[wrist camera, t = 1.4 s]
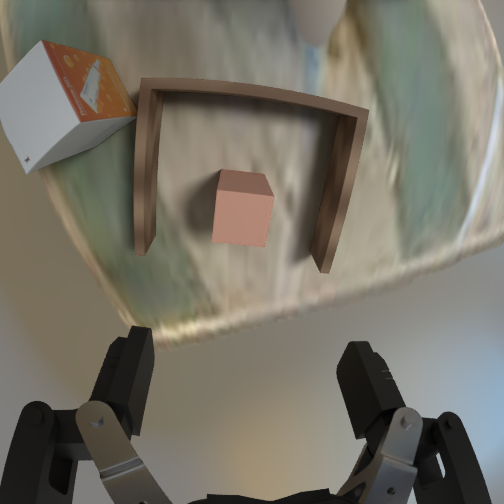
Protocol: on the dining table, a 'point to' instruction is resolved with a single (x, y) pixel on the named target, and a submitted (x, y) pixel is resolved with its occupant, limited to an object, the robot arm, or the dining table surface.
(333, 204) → the u-shaped bracket
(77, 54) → the small box
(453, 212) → the dining table surface
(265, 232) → the terracotta block
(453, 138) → the dining table surface
